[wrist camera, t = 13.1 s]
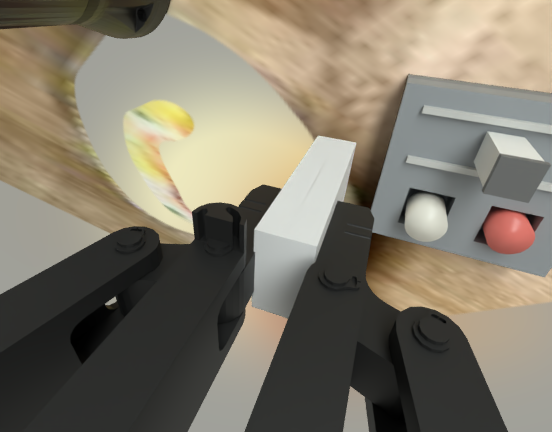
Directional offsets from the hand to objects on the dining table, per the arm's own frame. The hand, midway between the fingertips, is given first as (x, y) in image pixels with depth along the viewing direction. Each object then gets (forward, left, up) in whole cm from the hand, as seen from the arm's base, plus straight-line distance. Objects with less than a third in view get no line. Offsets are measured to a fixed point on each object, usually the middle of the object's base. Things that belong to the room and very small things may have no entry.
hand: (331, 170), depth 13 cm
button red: (+16, -13, -24) cm, 32 cm away
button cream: (+8, -13, -23) cm, 27 cm away
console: (+12, -9, -27) cm, 31 cm away
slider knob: (+12, -5, -22) cm, 25 cm away
